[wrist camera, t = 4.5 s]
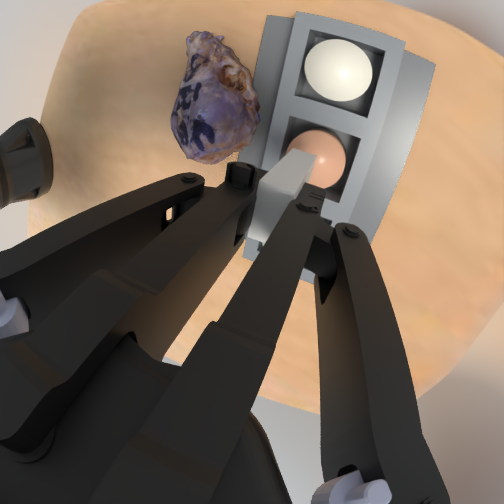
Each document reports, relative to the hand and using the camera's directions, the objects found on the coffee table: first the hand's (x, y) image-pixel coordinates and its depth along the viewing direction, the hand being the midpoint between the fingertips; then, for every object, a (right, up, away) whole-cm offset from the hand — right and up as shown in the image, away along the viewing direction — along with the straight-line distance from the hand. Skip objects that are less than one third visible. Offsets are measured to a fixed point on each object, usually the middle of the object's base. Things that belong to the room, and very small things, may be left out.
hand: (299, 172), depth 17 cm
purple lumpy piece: (-5, +9, +6) cm, 12 cm away
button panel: (+3, +4, +6) cm, 8 cm away
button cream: (+3, +8, 0) cm, 9 cm away
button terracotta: (+3, +3, +5) cm, 6 cm away
